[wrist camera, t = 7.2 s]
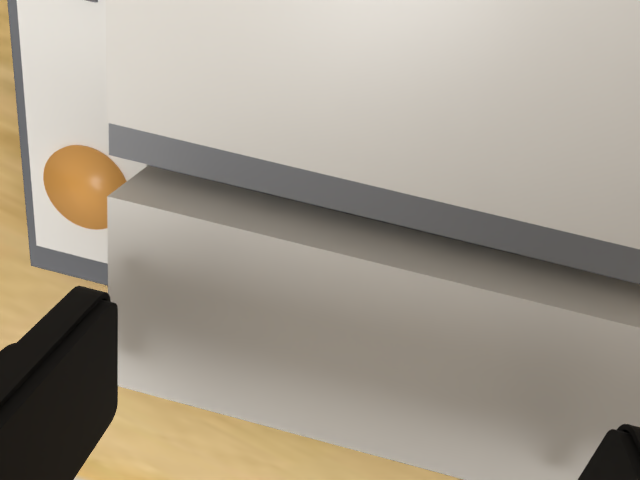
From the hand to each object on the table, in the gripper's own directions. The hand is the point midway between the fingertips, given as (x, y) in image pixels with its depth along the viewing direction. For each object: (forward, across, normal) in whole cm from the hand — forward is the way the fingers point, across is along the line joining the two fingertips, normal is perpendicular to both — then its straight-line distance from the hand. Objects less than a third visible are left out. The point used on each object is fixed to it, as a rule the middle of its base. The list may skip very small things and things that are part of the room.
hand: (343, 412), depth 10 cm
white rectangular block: (+4, 0, -7) cm, 8 cm away
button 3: (+4, 0, 0) cm, 4 cm away
